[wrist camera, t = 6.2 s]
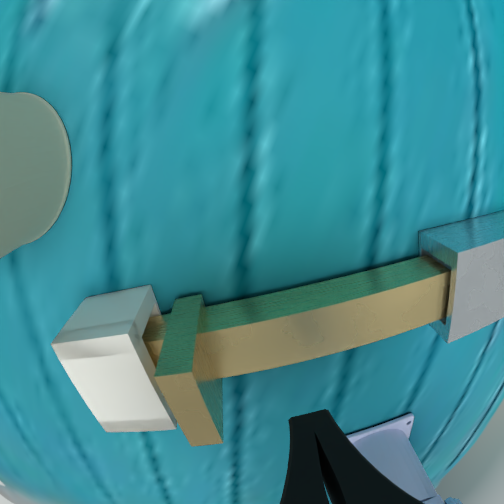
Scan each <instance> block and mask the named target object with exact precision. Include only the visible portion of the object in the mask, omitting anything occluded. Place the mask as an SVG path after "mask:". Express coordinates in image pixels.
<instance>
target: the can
mask: <svg viewBox="0 0 504 504" xmlns="http://www.w3.org/2000/svg"><path fill="white" fill-rule="evenodd" d="M70 180H71V150H70V144H69V139H68V136H67V133H66V129H65V127H64V124H63V122H62V120H61V118H60V117H59V115H58V114H57V112H56V111H55V110H54V108H53V107H52V106H51V105H50V104H49V103H48V102H47V101H45V100H44V99H42V98H41V97H39V96H37V95H34V94H31V93H24V92H18V93H4V92H0V258H2V257H3V256H5V255H7V254H8V253H10V252H12V251H13V250H15V249H17V248H18V247H20V246H22V245H24V244H27V243H30V242H33V241H35V240H37V239H38V238H40V237H41V236H42V235H44V234H45V233H46V232H47V231H48V230H49V229H50V228H51V227H52V225H53V224H54V223H55V221H56V220H57V218H58V216H59V215H60V213H61V211H62V208H63V206H64V204H65V201H66V198H67V195H68V190H69V186H70Z"/></svg>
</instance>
